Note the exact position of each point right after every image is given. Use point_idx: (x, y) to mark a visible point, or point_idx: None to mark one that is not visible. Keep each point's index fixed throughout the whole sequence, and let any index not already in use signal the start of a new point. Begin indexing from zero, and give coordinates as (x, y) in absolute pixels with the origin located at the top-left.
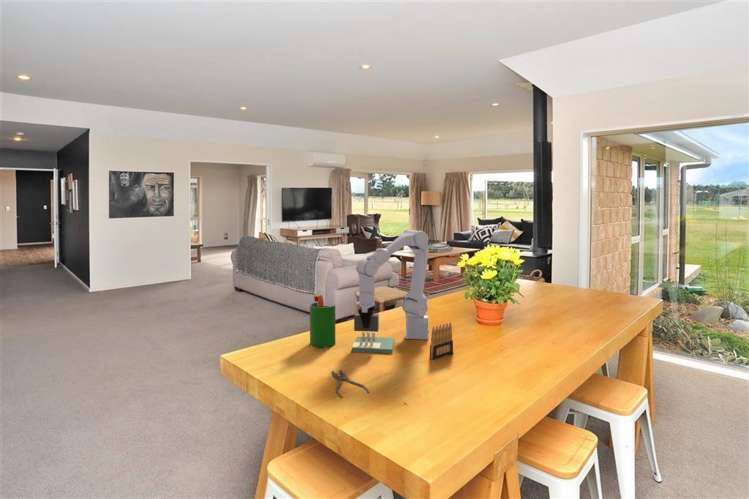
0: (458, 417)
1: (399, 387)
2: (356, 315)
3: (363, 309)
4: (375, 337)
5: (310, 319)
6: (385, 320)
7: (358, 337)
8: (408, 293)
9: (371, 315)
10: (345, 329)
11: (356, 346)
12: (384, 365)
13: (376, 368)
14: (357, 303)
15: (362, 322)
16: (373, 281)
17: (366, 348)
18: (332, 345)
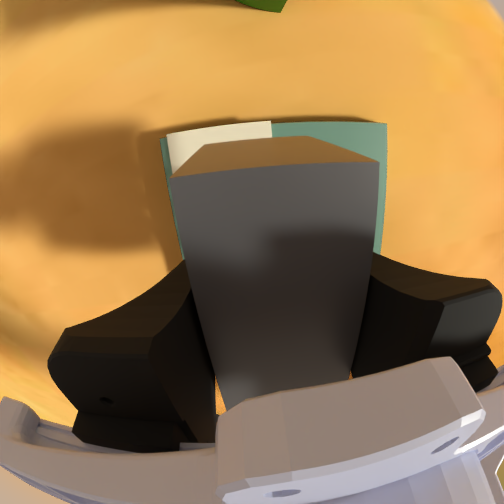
0: (5, 396)
1: (6, 344)
2: (183, 220)
3: (4, 439)
4: (376, 231)
5: None
6: None
7: (370, 133)
8: (496, 461)
9: (247, 392)
10: (493, 68)
11: (185, 158)
12: (77, 309)
13: (45, 289)
14: (214, 484)
15: (175, 271)
16: None
17: (175, 222)
18: (245, 3)
